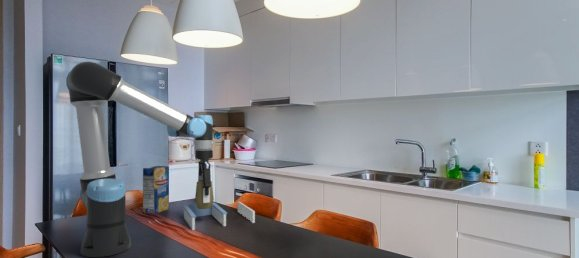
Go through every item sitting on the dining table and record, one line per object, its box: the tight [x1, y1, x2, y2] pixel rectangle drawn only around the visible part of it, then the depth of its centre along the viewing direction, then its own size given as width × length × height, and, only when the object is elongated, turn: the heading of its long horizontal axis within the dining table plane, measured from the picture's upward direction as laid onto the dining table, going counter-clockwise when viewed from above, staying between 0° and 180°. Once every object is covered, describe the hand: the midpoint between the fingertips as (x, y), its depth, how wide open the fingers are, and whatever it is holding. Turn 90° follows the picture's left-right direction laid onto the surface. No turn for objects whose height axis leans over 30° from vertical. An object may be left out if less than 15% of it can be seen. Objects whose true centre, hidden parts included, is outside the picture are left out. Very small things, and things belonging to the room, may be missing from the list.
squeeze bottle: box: [194, 173, 215, 209], centre depth 152 cm, size 8×8×18 cm
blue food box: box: [142, 165, 170, 215], centre depth 172 cm, size 7×11×22 cm, turn 162°
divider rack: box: [182, 201, 256, 231], centre depth 155 cm, size 23×27×6 cm
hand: (204, 200), depth 152 cm, fingers closed on squeeze bottle, 8 cm apart
